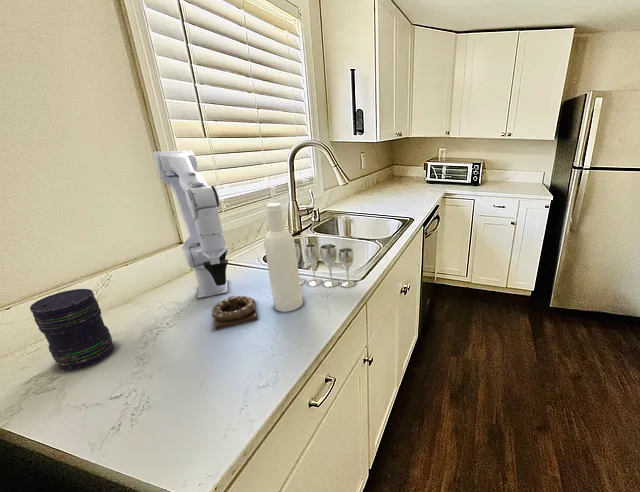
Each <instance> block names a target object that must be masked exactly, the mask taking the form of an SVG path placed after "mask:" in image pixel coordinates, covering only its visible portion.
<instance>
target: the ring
mask: <svg viewBox="0 0 640 492" xmlns="http://www.w3.org/2000/svg"><path fill="white" fill-rule="evenodd" d="M236 298H237V302H238V305H246V306H245V307H243V308H241V309H239V310H236V311H232V312H223V310H224V309H226V308H228V307H230V305H229V300H228V298H226V299H223V300H221V301H219V302H217V303H216V304H215V305H214V306H213V307H212V309H211V316H212V318H214V320H215V319H217V320H219V321H233V320H237V319H241V318H243V317H245V316H247V315H249V314H251V313H252V312H253V310H254V309H255V310H256V308H257V303H256V300H255V299H254V298H252V297H250V296H247V295H245V296H244V295H240V296H239V295H238V296H236Z"/></svg>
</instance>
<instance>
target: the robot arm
mask: <svg viewBox="0 0 640 492" xmlns="http://www.w3.org/2000/svg"><path fill="white" fill-rule="evenodd" d="M152 157H153V162H154V165H155V169H156V171H157V173H158V176H159V179H160V180H161V182H162V184H164V185H168V186H170V188H171V189H172V191H173V194H174V196H175V198H176V201H177V204H178V206H179V210H180V213H181V216H182V219H183V221H184V224H185V227H186V229H187V233H188V238H186V239H185V241H184V242H183V243H182V251H183V256H184V259H185V262H186V264H187V266H188V267H189V268H190V269H193V270H194V274H195V277H196V281H197V285H198V289H199V290H198V294H197V298H198V299H202V298H208V297H213V296H218V295H223V294H227V293H228V280H227V266H228V264H229V259H227V258H226V257H227V253H228V246H227V244H226V241H225V240H226V239H225V234H224V230H223V227H222V222H221V218H220V213H219V208H220V198H219V194H218V191H217V189H216V187H215V186H214V184H208V183H207V181H206V180H205V178H204V177H203V176H202V174H201V173H199V172H198V162H197V158H196V155H195V153H194V151H192V150H191V149H187V150H186V149H185V150H165V151H164V150H163V151H157V150H155V151H153V154H152Z"/></svg>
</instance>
